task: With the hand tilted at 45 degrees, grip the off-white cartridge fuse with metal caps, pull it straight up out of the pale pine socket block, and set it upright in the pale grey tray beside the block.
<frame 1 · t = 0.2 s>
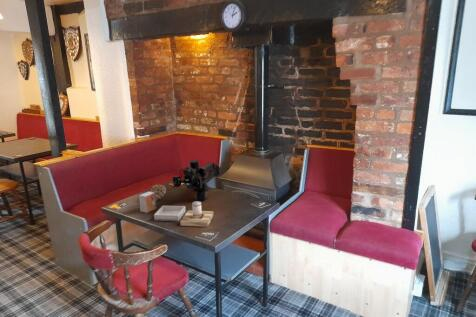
hand: (180, 187, 197), 17 cm above the table, tool horizontal, fingers open, 9 cm apart
small box: (148, 210, 208), on the table
tray: (170, 215, 199), on the table
socket block: (197, 220, 192), on the table
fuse: (197, 211, 191), in the socket block
pine cone: (153, 201, 222), on the table
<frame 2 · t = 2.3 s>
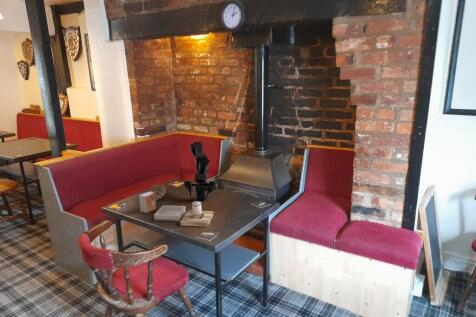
hand: (198, 198, 194), 11 cm above the table, tool tilted 45°, fingers open, 9 cm apart
nothing on the table moved.
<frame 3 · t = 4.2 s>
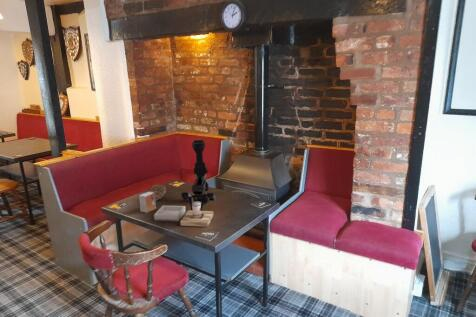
hand: (196, 210, 189), 7 cm above the table, tool tilted 45°, fingers closed on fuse, 5 cm apart
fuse: (197, 211, 191), in the socket block, touching gripper
everything else where it was.
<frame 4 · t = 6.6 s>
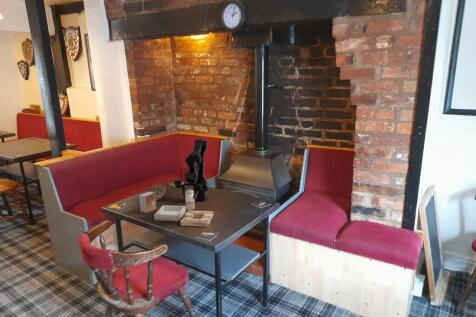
hand: (189, 198, 189), 13 cm above the table, tool tilted 45°, fingers closed on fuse, 5 cm apart
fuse: (189, 199, 190), point 12 cm above the table, touching gripper
everything else where it was.
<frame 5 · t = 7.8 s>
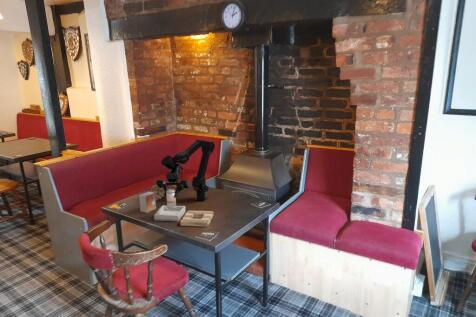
hand: (170, 197, 193), 13 cm above the table, tool tilted 45°, fingers closed on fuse, 5 cm apart
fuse: (171, 198, 194), point 11 cm above the table, touching gripper
everything else where it was.
when the fingers open (9 cm above the table, at t = 8.9 s): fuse drops 1 cm, resting on tray.
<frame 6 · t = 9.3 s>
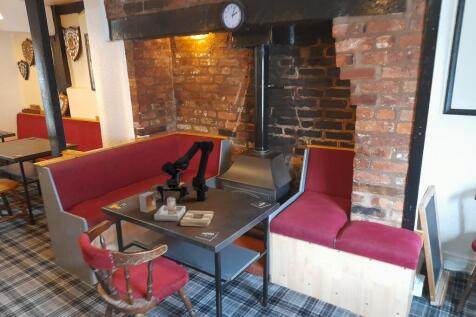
hand: (170, 203, 194), 9 cm above the table, tool tilted 45°, fingers open, 9 cm apart
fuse: (171, 206, 196), in the tray, point 6 cm above the table
everything else where it was.
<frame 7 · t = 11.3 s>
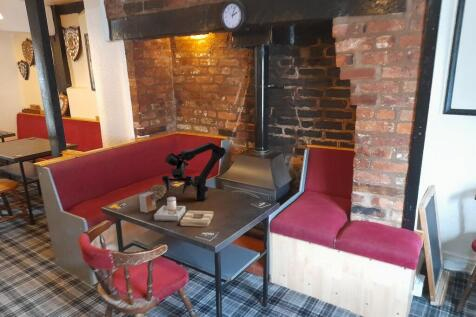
hand: (175, 192, 201), 13 cm above the table, tool tilted 45°, fingers open, 9 cm apart
nothing on the table moved.
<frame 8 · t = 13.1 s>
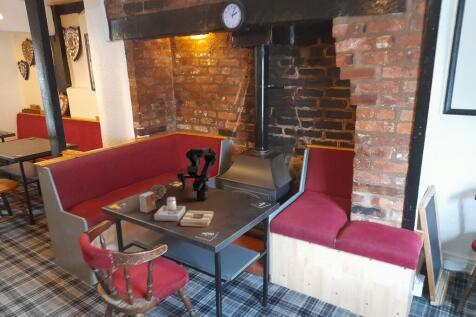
hand: (191, 189, 202), 14 cm above the table, tool tilted 45°, fingers open, 9 cm apart
nothing on the table moved.
at the end: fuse inside the target area on the tray (2.2 cm from its centre), point 6.3 cm above the tray's base; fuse tilted 1°; the gripper is holding nothing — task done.
